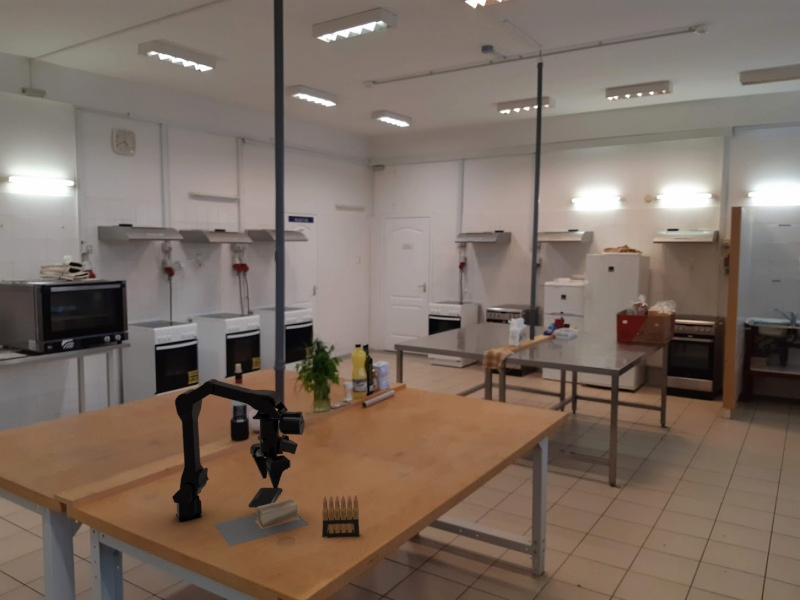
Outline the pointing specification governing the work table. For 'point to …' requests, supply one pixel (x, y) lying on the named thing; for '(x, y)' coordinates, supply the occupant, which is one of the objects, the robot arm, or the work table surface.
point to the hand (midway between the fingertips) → (270, 483)
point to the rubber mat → (253, 528)
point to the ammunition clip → (340, 518)
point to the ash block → (276, 512)
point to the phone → (265, 497)
